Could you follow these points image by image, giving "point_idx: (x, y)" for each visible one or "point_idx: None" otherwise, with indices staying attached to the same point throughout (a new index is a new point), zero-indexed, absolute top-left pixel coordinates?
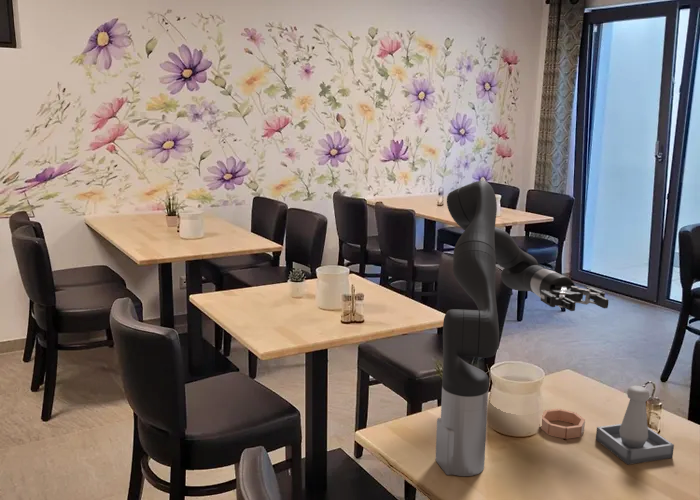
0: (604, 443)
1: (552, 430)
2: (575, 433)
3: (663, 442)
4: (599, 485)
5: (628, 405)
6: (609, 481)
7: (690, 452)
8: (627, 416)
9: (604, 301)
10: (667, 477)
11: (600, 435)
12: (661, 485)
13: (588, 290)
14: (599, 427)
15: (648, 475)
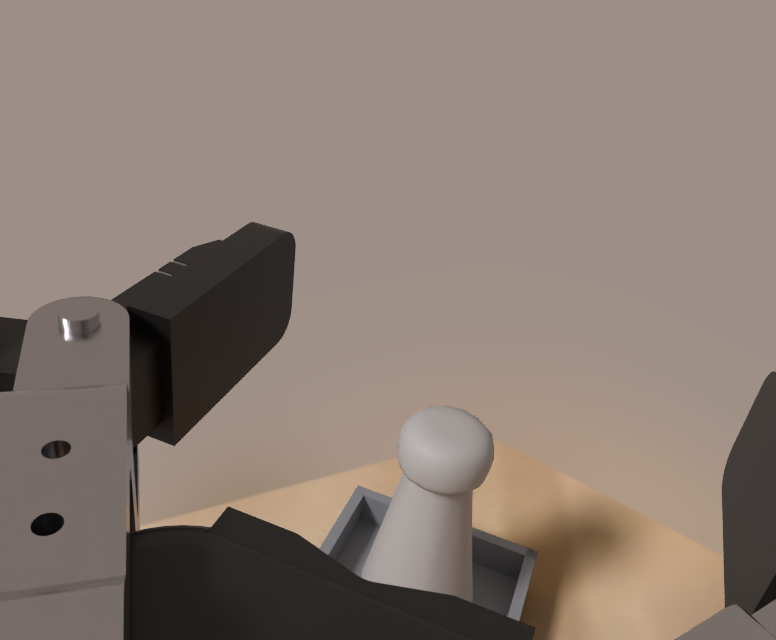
0: None
1: None
2: None
3: (351, 522)
4: (708, 586)
5: (468, 512)
6: (661, 578)
7: (268, 501)
8: (470, 541)
9: (281, 261)
10: (476, 492)
11: None
12: (529, 488)
13: (80, 388)
14: None
15: (518, 525)
